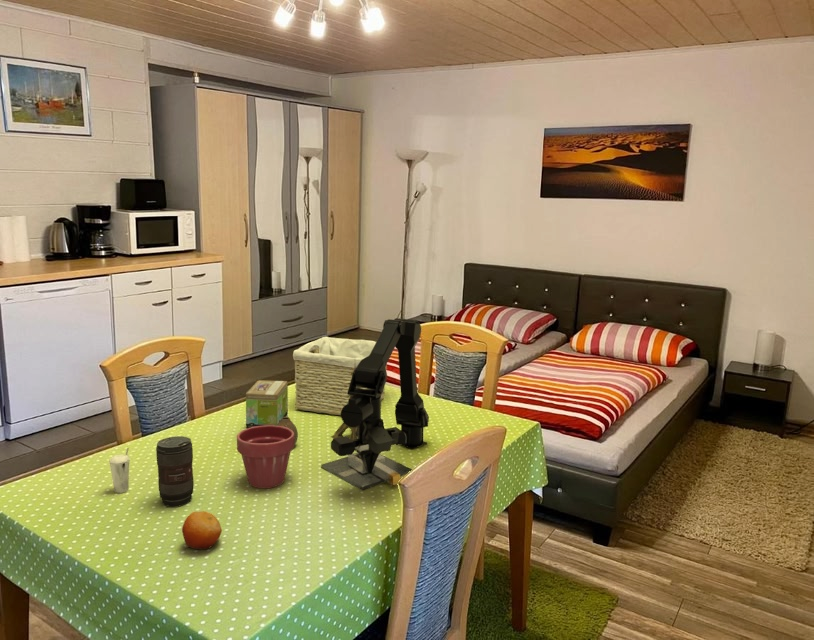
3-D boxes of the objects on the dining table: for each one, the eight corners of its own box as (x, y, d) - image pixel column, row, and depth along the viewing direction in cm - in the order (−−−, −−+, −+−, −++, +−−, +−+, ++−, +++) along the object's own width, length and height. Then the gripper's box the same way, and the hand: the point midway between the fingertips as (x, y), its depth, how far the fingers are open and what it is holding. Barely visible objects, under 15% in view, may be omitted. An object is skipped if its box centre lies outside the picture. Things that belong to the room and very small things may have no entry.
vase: (292, 452, 187) (292, 423, 185) (270, 449, 188) (269, 421, 186) (301, 443, 193) (300, 415, 192) (279, 441, 195) (278, 413, 193)
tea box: (278, 441, 195) (277, 393, 192) (245, 440, 195) (243, 393, 192) (288, 424, 210) (287, 379, 207) (257, 423, 210) (256, 379, 207)
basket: (391, 397, 239) (392, 340, 235) (365, 421, 213) (366, 357, 209) (323, 390, 246) (323, 334, 242) (291, 412, 221) (290, 350, 217)
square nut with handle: (348, 464, 176) (348, 454, 175) (370, 458, 180) (370, 449, 180) (384, 487, 162) (384, 477, 162) (407, 480, 167) (408, 470, 166)
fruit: (178, 529, 140) (197, 499, 139) (211, 545, 141) (230, 516, 140) (168, 549, 132) (187, 517, 131) (203, 566, 133) (222, 535, 132)
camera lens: (201, 495, 159) (199, 437, 156) (181, 510, 151) (178, 449, 149) (173, 490, 161) (170, 433, 158) (151, 505, 154) (148, 445, 151)
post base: (370, 452, 188) (370, 432, 186) (412, 472, 174) (412, 451, 173) (321, 467, 176) (321, 446, 175) (361, 490, 163) (362, 467, 162)
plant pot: (286, 466, 177) (286, 421, 175) (301, 486, 165) (300, 439, 162) (233, 474, 171) (231, 428, 169) (244, 497, 158) (242, 447, 156)
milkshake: (137, 486, 163) (135, 449, 161) (122, 495, 158) (119, 457, 156) (123, 483, 164) (120, 446, 163) (107, 492, 160) (104, 454, 158)
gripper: (348, 430, 150) (348, 493, 153) (418, 418, 159) (416, 477, 162) (329, 416, 160) (330, 475, 163) (396, 405, 169) (395, 461, 172)
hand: (369, 472), depth 165 cm, fingers closed
